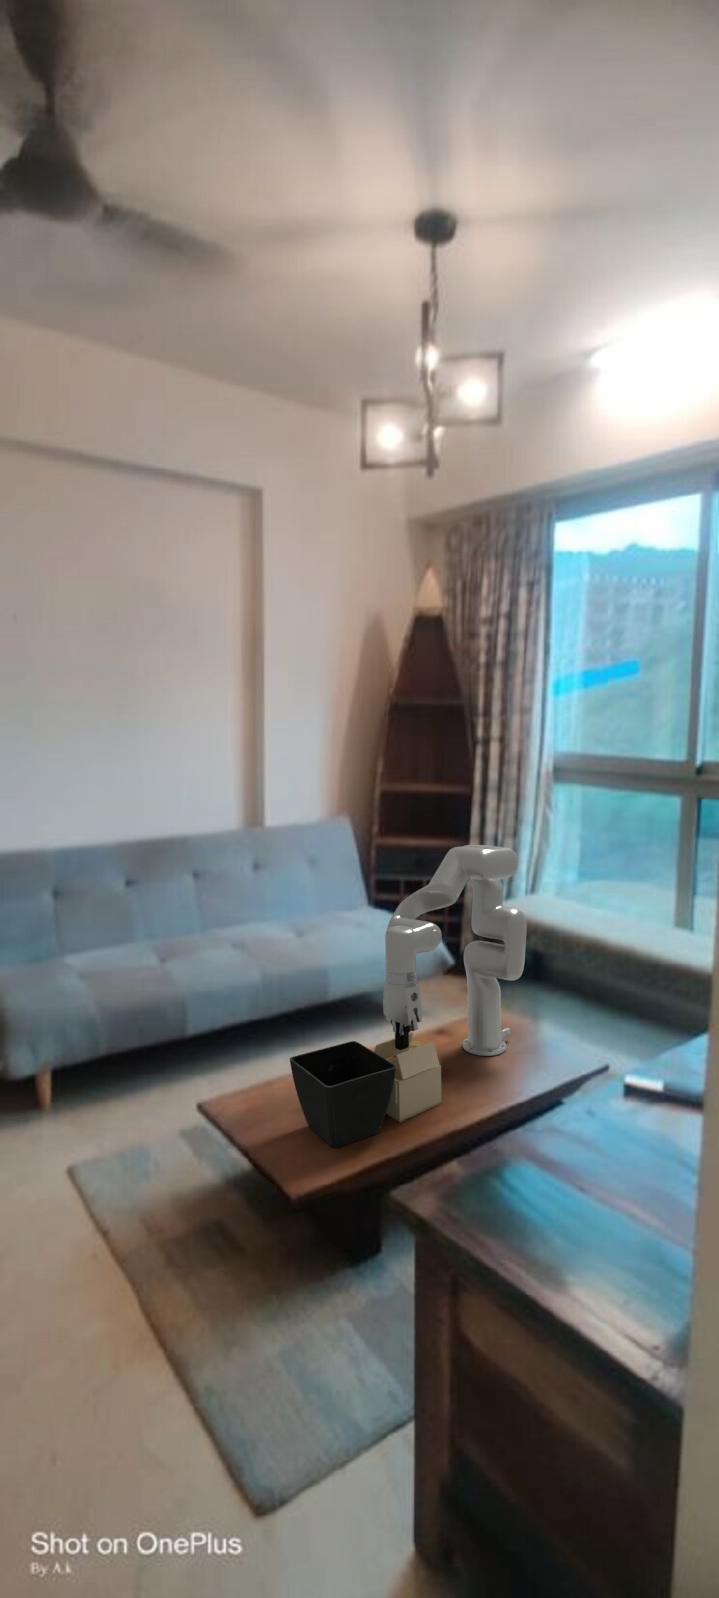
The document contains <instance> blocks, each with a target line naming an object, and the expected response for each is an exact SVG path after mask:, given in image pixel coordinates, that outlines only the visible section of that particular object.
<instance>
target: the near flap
mask: <svg viewBox="0 0 719 1598" xmlns="http://www.w3.org/2000/svg"><path fill="white" fill-rule="evenodd" d="M396 1056H397V1061H398V1065H399V1069H400V1073H401V1077H402V1080H403V1079H406V1078H408V1077H411V1076H413V1075H415V1074H418V1073H420V1072H423V1071H425V1070H428V1069H430V1068H432V1067H435V1066H437V1065H440V1064H439V1060H440V1059H439V1057H438V1052H437V1049H436V1045H435V1041H434V1040H431V1041H429V1042H426V1043H424V1044H422V1045H421V1046H419V1047H416V1048H413V1049H411V1050H408V1051H406V1052H403V1053H400V1054H398V1055H396ZM438 1059H439V1060H438Z"/></svg>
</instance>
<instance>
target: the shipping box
mask: <svg viewBox="0 0 719 1598" xmlns="http://www.w3.org/2000/svg"><path fill="white" fill-rule="evenodd" d="M388 1061H389V1062H391V1063H392V1064H394V1065H395V1066H396V1072H395V1078H394V1084H393V1089H392V1093H391V1097H390V1101H389V1104H388V1108H387V1111H386V1114H385V1116H387V1117H389V1118H391V1119H393V1120H395V1121H396V1122H399V1123H402V1122H404V1121H407V1120H409V1119H410V1118H411V1119H412V1118H413V1117H415V1116H417V1114H418V1115H420V1114H422V1113H423V1112H426V1111H428V1110H430V1108H431V1109H433V1108H435V1107H437V1106H440V1105H441V1104H442V1076H441V1065H437V1066H435V1067H432V1068H430V1069H428V1070H425V1071H423V1072H420V1073H418V1074H415V1075H413V1076H411V1077H408V1078H406V1079H403V1080H402V1077H401V1073H400V1069H399V1065H398V1061H397V1057H396V1058H390V1059H388ZM421 1112H422V1113H421ZM419 1113H420V1114H419ZM408 1118H409V1119H408ZM406 1119H407V1120H406Z"/></svg>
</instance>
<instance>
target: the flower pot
mask: <svg viewBox="0 0 719 1598" xmlns="http://www.w3.org/2000/svg"><path fill="white" fill-rule="evenodd" d="M388 1060H389V1059H388ZM388 1060H387V1059H384V1058H383V1057H381V1056H379V1055H378V1054H376V1053H374V1051H372V1050H371V1049H370V1048H368V1047H367V1046H365V1045H363V1044H361V1043H360V1042H358V1041H355V1040H352V1041H348V1042H344V1043H340V1044H336V1045H332V1046H329V1047H324V1048H321V1049H318V1050H313V1051H309V1052H306V1053H302V1054H301V1053H300V1054H298V1055H294V1056H291V1057H290V1058H289V1063H290V1070H291V1074H292V1079H293V1083H294V1086H295V1088H294V1089H295V1091H296V1095H297V1098H298V1102H299V1104H300V1108H301V1110H302V1113H303V1115H304V1118H305V1121H306V1124H307V1125H308V1127H309V1128H310V1129H311V1130H312V1131H313V1132H314V1133H316V1135H318V1136H319V1137H321V1139H322V1140H323V1141H325V1142H326V1144H329V1146H330V1147H332V1148H338V1147H339V1148H340V1147H342V1146H344V1145H348V1144H351V1143H354V1142H356V1141H359V1140H362V1139H365V1138H367V1137H370V1136H371V1137H372V1136H374V1135H377V1134H378V1133H379V1132H380V1130H381V1127H382V1125H383V1122H384V1119H385V1117H386V1111H387V1108H388V1104H389V1101H390V1097H391V1093H392V1089H393V1084H394V1078H395V1072H396V1066H395V1065H394V1064H392V1063H391V1062H389V1061H388Z"/></svg>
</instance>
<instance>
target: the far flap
mask: <svg viewBox="0 0 719 1598" xmlns="http://www.w3.org/2000/svg"><path fill="white" fill-rule="evenodd" d="M413 1035H414V1031H411V1032H410V1033H409V1047H410V1043H411V1042H412V1038H413ZM409 1047H408V1048H405V1049H403V1050H398V1049H396V1048H395V1037H394V1038H391V1039H389V1040H385V1041H383V1042H380V1043H378V1044H376V1045H375V1049H374V1051H373V1052H374V1053H376V1054H378V1055H379V1056H381V1057H383V1058H384V1059H386V1060H387V1059H388V1060H389V1059H391V1058H392V1057H393V1056H396V1055H398V1054H400V1053H403V1052H406V1051H408V1050H409Z"/></svg>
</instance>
